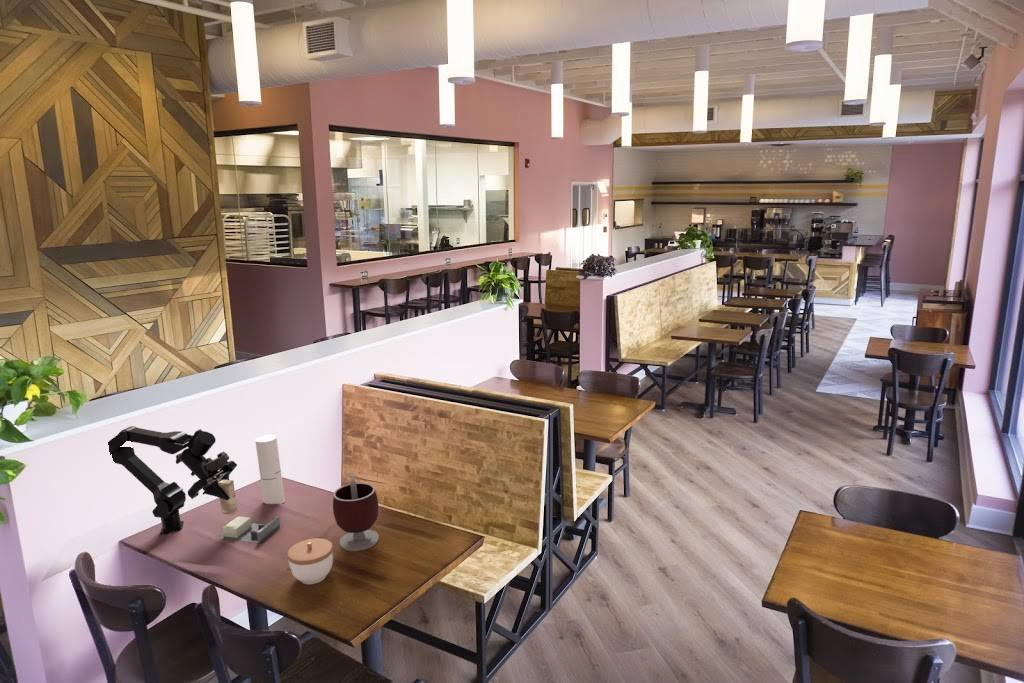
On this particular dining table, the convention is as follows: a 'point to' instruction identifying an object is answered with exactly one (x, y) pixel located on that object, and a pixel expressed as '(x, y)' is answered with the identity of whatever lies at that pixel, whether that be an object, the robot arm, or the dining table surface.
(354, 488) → the mate gourd
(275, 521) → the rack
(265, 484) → the cylindrical container
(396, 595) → the dining table surface
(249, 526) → the offcut lower
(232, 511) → the birch board
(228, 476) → the robot arm
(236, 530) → the offcut upper
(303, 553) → the lidded bowl
